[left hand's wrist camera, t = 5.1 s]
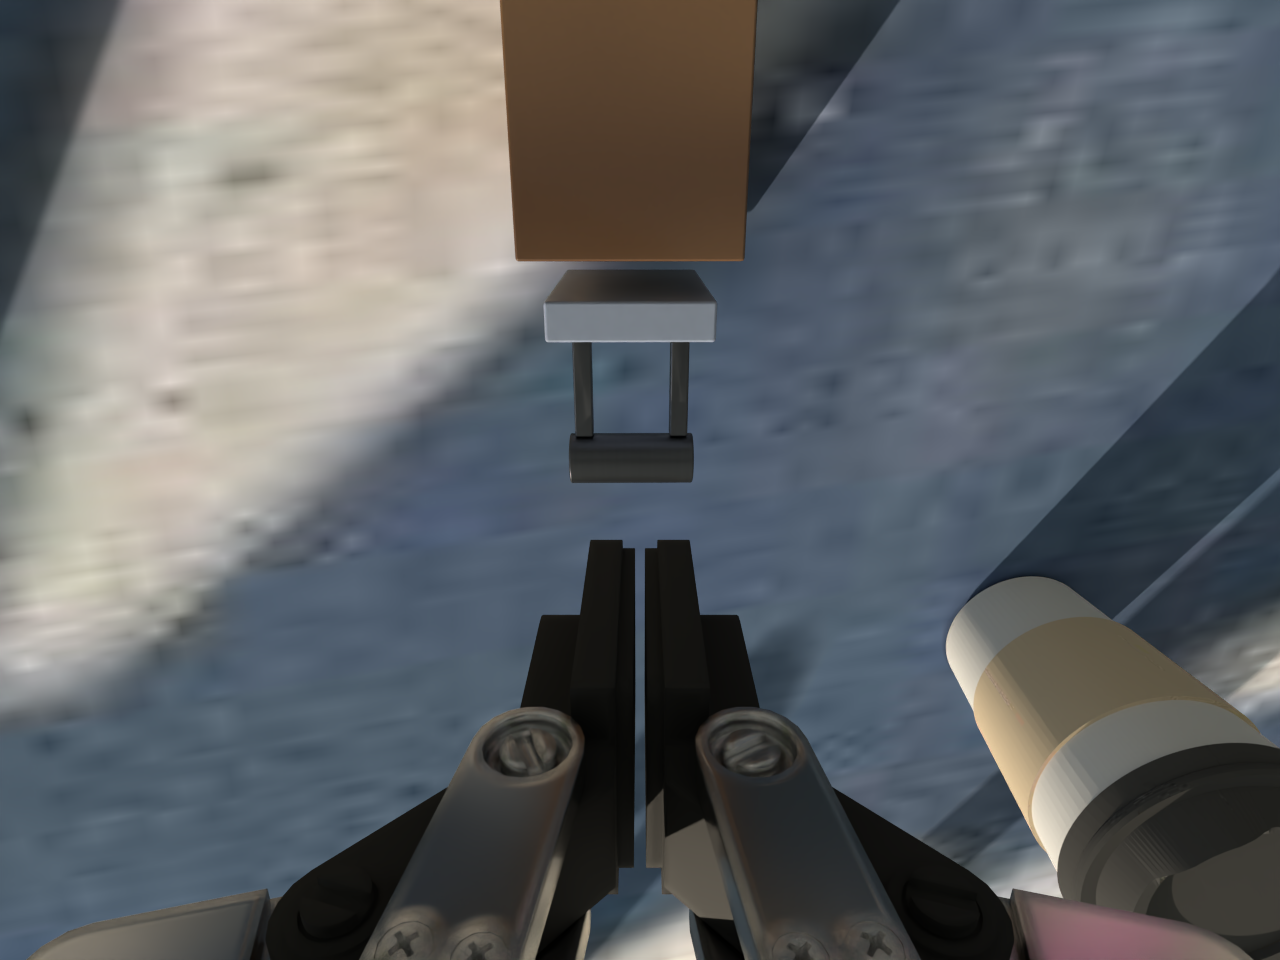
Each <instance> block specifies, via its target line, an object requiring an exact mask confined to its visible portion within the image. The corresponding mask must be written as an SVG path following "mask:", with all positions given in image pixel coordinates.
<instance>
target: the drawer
mask: <svg viewBox="0 0 1280 960" xmlns="http://www.w3.org/2000/svg"><path fill="white" fill-rule="evenodd" d="M716 322H717V302H716V300H715V299H714V298H713V296H712V295H711V293H710V292H709V290H708V289H707V287H706V286H705V284H704V283H703V282H702V280H701V279H700V277H699V276H698V274H697V273H696V271H695V270H567V272H566V273H565V274H564V276H563V277H562V278H561V280H560V281H559V283H558V284H557V285H556V287H555V288H554V289H553V291H552V292H551V294H550V295H549V296H548V298H547V299H546V300H545V302H544V323H545V340H546V341H547V342H572V350H573V379H574V408H575V433H572V434H571V435H570V442H569V472H570V480H571V482H572V483H677V482H692V479H693V467H694V449H693V436H692V433H687V419H688V379H689V342H714V341H715V340H716ZM592 342H670V391H669V433H594V419H593V378H592Z"/></svg>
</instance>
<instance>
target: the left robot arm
mask: <svg viewBox="0 0 1280 960" xmlns="http://www.w3.org/2000/svg"><path fill="white" fill-rule="evenodd" d="M634 783H635V548H623V542H622V540H591V541H590V547H589V554H588V561H587V568H586V576H585V583H584V590H583V597H582V605H581V612H580V615H543V616H542V617H541V620H540V624H539V628H538V632H537V637H536V641H535V646H534V650H533V654H532V659H531V663H530V668H529V672H528V676H527V681H526V685H525V689H524V694H523V698H522V703H521V707H520V708H519V709H514V710H510V711H507V712H505V713H503V714H501V715H498V716H496V717H494V718H493V719H491V720H490V721H489V722H487V723H486V724H485V725H483V726H482V727H481V728H480V730H479V731H478V732H477V734H476V735H475V736H474V738H473V739H472V741H471V743H470V745H469V747H468V749H467V751H466V753H465V755H464V757H463V759H462V761H461V763H460V765H459V767H458V769H457V770H456V772H455V774H454V776H453V778H452V780H451V782H450V784H449V786H448V787H447V788H445V789H444V790H442V791H441V792H439V793H437V794H436V795H434V796H432V797H431V798H429V799H427V800H426V801H424V802H423V803H421V804H419V805H418V806H416V807H414V808H413V809H411V810H409V811H408V812H406V813H405V814H403V815H401V816H400V817H398V818H396V819H395V820H393V821H392V822H390V823H388V824H387V825H385V826H383V827H382V828H380V829H378V830H377V831H375V832H374V833H372V834H370V835H369V836H367V837H365V838H364V839H362V840H360V841H359V842H357V843H356V844H354V845H352V846H351V847H349V848H347V849H346V850H344V851H342V852H341V853H339V854H338V855H336V856H334V857H333V858H331V859H329V860H328V861H326V862H324V863H323V864H321V865H320V866H318V867H316V868H315V869H313V870H311V871H310V872H309V873H307V874H306V875H305V876H304V877H302V878H301V879H300V880H298V881H297V882H296V883H294V884H293V885H292V886H291V887H290V889H289V890H288V891H287V892H286V893H285V894H284V895H283V897H278V898H273V899H270V897H269V893H268V889H262V890H257V891H252V892H247V893H242V894H237V895H232V896H227V897H222V898H217V899H212V900H207V901H201V902H196V903H191V904H186V905H181V906H176V907H171V908H166V909H161V910H156V911H151V912H146V913H141V914H136V915H131V916H125V917H120V918H115V919H110V920H105V921H100V922H95V923H92V924H89V925H86V926H83V927H80V928H77V929H73V930H70V931H68V932H66V933H64V934H63V935H61V936H59V937H57V938H56V939H54V940H52V941H50V942H49V943H47V944H45V945H43V946H42V947H40V948H39V949H38V950H37V951H36V952H35V953H34V954H32V955H31V956H30V957H29V958H28V959H27V960H584V956H585V951H586V947H587V942H588V938H589V934H590V923H591V908H592V907H593V906H594V905H595V904H597V903H598V902H599V901H600V900H601V899H602V898H604V897H605V896H606V895H607V894H618V876H619V868H634ZM645 783H646V868H661V876H662V894H673V895H674V896H675V897H676V898H678V899H679V900H680V901H681V902H682V903H683V904H685V905H686V906H687V907H688V908H689V923H690V934H691V938H692V942H693V947H694V951H695V956H696V960H1253V959H1252V958H1251V957H1250V956H1249V955H1248V954H1246V953H1245V952H1244V951H1243V950H1242V949H1241V948H1240V947H1238V946H1237V945H1235V944H1233V943H1231V942H1230V941H1228V940H1226V939H1224V938H1223V937H1221V936H1219V935H1217V934H1216V933H1214V932H1212V931H1210V930H1207V929H1203V928H1200V927H1197V926H1194V925H1191V924H1188V923H1185V922H1180V921H1175V920H1170V919H1165V918H1160V917H1155V916H1149V915H1144V914H1139V913H1134V912H1129V911H1124V910H1119V909H1114V908H1109V907H1104V906H1099V905H1094V904H1089V903H1084V902H1079V901H1073V900H1068V899H1063V898H1058V897H1053V896H1048V895H1043V894H1038V893H1033V892H1028V891H1023V890H1018V889H1012V893H1011V897H1010V899H1007V898H1002V897H997V895H996V894H995V893H994V892H993V891H992V890H991V889H990V887H989V886H988V885H987V884H986V883H984V882H983V881H982V880H980V879H979V878H978V877H976V876H975V875H974V874H973V873H971V872H970V871H969V870H967V869H965V868H964V867H962V866H960V865H959V864H957V863H956V862H954V861H952V860H951V859H949V858H947V857H946V856H944V855H942V854H941V853H939V852H938V851H936V850H934V849H933V848H931V847H929V846H928V845H926V844H924V843H923V842H921V841H920V840H918V839H916V838H915V837H913V836H911V835H910V834H908V833H906V832H905V831H903V830H902V829H900V828H898V827H897V826H895V825H893V824H892V823H890V822H888V821H887V820H885V819H884V818H882V817H880V816H879V815H877V814H875V813H874V812H872V811H871V810H869V809H867V808H866V807H864V806H862V805H861V804H859V803H857V802H856V801H854V800H853V799H851V798H849V797H848V796H846V795H844V794H843V793H841V792H839V791H838V790H836V789H835V788H833V787H832V786H831V784H830V782H829V780H828V778H827V776H826V774H825V772H824V770H823V769H822V767H821V765H820V763H819V761H818V759H817V757H816V755H815V753H814V751H813V749H812V747H811V745H810V743H809V741H808V739H807V738H806V736H805V735H804V734H803V732H802V731H801V730H800V728H799V727H798V726H797V725H795V724H794V723H793V722H791V721H790V720H789V719H787V718H786V717H784V716H782V715H779V714H777V713H775V712H773V711H770V710H766V709H761V708H760V707H759V703H758V698H757V694H756V689H755V685H754V681H753V676H752V672H751V668H750V663H749V659H748V654H747V650H746V646H745V641H744V637H743V632H742V628H741V624H740V620H739V617H738V616H737V615H700V612H699V605H698V597H697V590H696V583H695V576H694V568H693V561H692V554H691V547H690V541H689V540H658V542H657V548H645Z"/></svg>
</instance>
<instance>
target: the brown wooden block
mask: <svg viewBox="0 0 1280 960" xmlns="http://www.w3.org/2000/svg"><path fill="white" fill-rule="evenodd" d="M757 3H758V0H500V11H501V28H502V44H503V60H504V77H505V93H506V110H507V126H508V143H509V159H510V176H511V192H512V208H513V225H514V241H515V258H516V260H517V261H743V260H744V257H745V238H746V218H747V199H748V179H749V160H750V140H751V120H752V101H753V81H754V62H755V42H756V23H757Z"/></svg>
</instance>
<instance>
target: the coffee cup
mask: <svg viewBox="0 0 1280 960" xmlns="http://www.w3.org/2000/svg"><path fill="white" fill-rule="evenodd" d="M946 653H947V658H948V661H949V664H950V666H951V668H952V670H953V672H954V674H955V676H956V678H957V680H958V682H959V684H960V686H961V688H962V689H963V691H964V693H965V695H966V697H967V699H968V701H969V703H970V705H971V707H972V709H973V711H974V716H975V720H976V723H977V725H978V727H979V729H980V731H981V733H982V735H983V737H984V739H985V741H986V743H987V745H988V747H989V749H990V751H991V753H992V755H993V757H994V759H995V761H996V762H997V764H998V766H999V768H1000V770H1001V772H1002V774H1003V776H1004V778H1005V780H1006V782H1007V784H1008V786H1009V788H1010V790H1011V792H1012V794H1013V796H1014V798H1015V800H1016V802H1017V803H1018V805H1019V807H1020V809H1021V811H1022V813H1023V815H1024V817H1025V819H1026V821H1027V823H1028V825H1029V827H1030V829H1031V831H1032V833H1033V835H1034V837H1035V838H1036V840H1037V842H1038V843H1039V845H1040V846H1041V847H1042V848H1043V849H1044V850H1045V851H1046V852H1047V853H1048V855H1049V857H1050V859H1051V861H1052V863H1053V865H1054V867H1055V869H1056V871H1057V876H1058V883H1059V888H1060V891H1061V894H1062V896H1063V898H1064V899H1068V900H1073V901H1079V902H1084V903H1089V904H1094V905H1099V906H1104V907H1109V908H1114V909H1119V910H1124V911H1129V912H1134V913H1139V914H1144V915H1149V916H1155V917H1160V918H1165V919H1170V920H1175V921H1180V922H1185V923H1188V924H1191V925H1194V926H1197V927H1200V928H1203V929H1207V930H1210V931H1212V932H1214V933H1216V934H1217V935H1219V936H1221V937H1223V938H1224V939H1226V940H1228V941H1230V942H1231V943H1233V944H1235V945H1237V946H1238V947H1240V948H1241V949H1242V950H1243V951H1244V952H1245V953H1246V954H1248V955H1249V956H1250V957H1251V958H1252V959H1253V960H1280V748H1278V747H1277V746H1276V745H1274V744H1273V743H1272V742H1270V741H1269V740H1268V739H1267V738H1265V737H1264V736H1263V735H1261V733H1260V732H1259V730H1258V729H1257V728H1256V726H1255V725H1254V724H1253V723H1252V722H1251V721H1250V720H1249V719H1248V718H1247V717H1246V716H1245V715H1243V714H1242V713H1241V712H1239V711H1238V710H1237V709H1235V708H1234V707H1233V706H1231V705H1230V704H1229V703H1227V702H1226V701H1225V700H1223V699H1222V698H1221V697H1219V696H1218V695H1217V694H1215V693H1214V692H1213V691H1211V690H1210V689H1209V688H1208V687H1206V686H1205V685H1204V684H1202V683H1201V682H1200V681H1198V680H1197V679H1196V678H1194V677H1193V676H1192V675H1190V674H1189V673H1188V672H1186V671H1185V670H1184V669H1182V668H1181V667H1180V666H1178V665H1177V664H1176V663H1174V662H1173V661H1172V660H1170V659H1169V658H1168V657H1166V656H1165V655H1164V654H1162V653H1161V652H1160V651H1159V650H1157V649H1156V648H1155V647H1153V646H1152V645H1151V644H1149V643H1148V642H1147V641H1145V640H1144V639H1143V638H1141V637H1140V636H1139V635H1137V634H1136V633H1135V632H1133V631H1132V630H1131V629H1129V628H1127V627H1126V626H1124V625H1122V624H1120V623H1117V622H1114V621H1113V620H1111V619H1110V618H1109V617H1108V616H1106V615H1105V614H1104V613H1102V612H1101V611H1100V610H1098V609H1097V608H1096V607H1094V606H1093V605H1092V604H1091V603H1089V602H1088V601H1087V600H1085V599H1084V598H1083V597H1081V596H1080V595H1079V594H1078V593H1076V592H1075V591H1074V590H1072V589H1071V588H1070V587H1068V586H1067V585H1065V584H1063V583H1061V582H1059V581H1056V580H1053V579H1050V578H1045V577H1036V576H1028V577H1019V578H1013V579H1009V580H1006V581H1003V582H1000V583H997V584H995V585H993V586H991V587H989V588H987V589H985V590H983V591H982V592H980V593H979V594H977V595H976V596H975V597H973V598H972V599H971V600H970V601H969V602H968V603H967V604H966V605H965V606H964V607H963V608H962V609H961V610H960V612H959V613H958V614H957V616H956V617H955V619H954V621H953V623H952V624H951V627H950V629H949V632H948V636H947V641H946Z"/></svg>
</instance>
